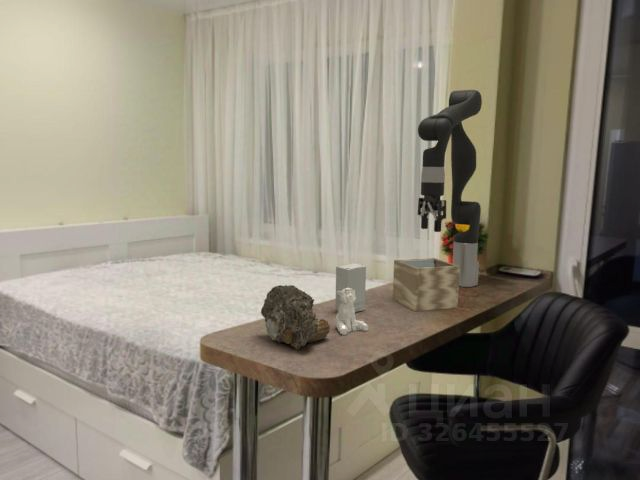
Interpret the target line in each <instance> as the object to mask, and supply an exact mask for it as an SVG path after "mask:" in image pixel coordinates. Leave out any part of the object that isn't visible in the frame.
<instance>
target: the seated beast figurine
mask: <svg viewBox="0 0 640 480" xmlns="http://www.w3.org/2000/svg"><path fill="white" fill-rule="evenodd" d="M354 291H355V290H354ZM354 291H353V289H351V288H346V289H342V291H337V294H338V295H339V296H340V299H341V301H342V302H343V303H342V304H341V305H340V306H339V309H338V310H339V311H337V314H336V317H335V318H334V319H335V321H334V322H335V326H336V328H337V331H338V332H339V334H340V335H341V334H342V336H346V335H347V334H348V333H351V332H357V331H356V330H358V331H362V330H363V331H364V332H368V331H369V324H367V323H365V321H364V320H357V318H356V312H355V308H354V304H353V303H354V301H355V300H356V296H355V292H354ZM351 329H352V330H351ZM347 332H348V333H347Z"/></svg>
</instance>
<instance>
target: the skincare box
mask: <svg viewBox="0 0 640 480" xmlns="http://www.w3.org/2000/svg"><path fill="white" fill-rule="evenodd" d="M366 275H367V266H366V265H364V264H359V263H357V262H356V263H355V262H354V263H349V264H344V265H337V266H335V307H334V308H335V311H337V312H339V310H338V309H339V306H340V305H341V304H342V303H343V302H342V301H341V299H340V296H339V295H338V294H337V291H342V289H346V288H351V289H353V291H354V290H355V291H354V292H355V296H356V300H355V301H354V303H353V304H354V308H355V313H358V312H361V311H365V310H366V286H367V285H366V280H367V279H366V277H367V276H366Z"/></svg>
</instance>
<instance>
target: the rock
mask: <svg viewBox="0 0 640 480" xmlns="http://www.w3.org/2000/svg"><path fill="white" fill-rule="evenodd" d="M263 302H264V303H263V305H262V307H261V310H260V313H261V316H262V317H263V318H264V322H265V325H264V326H265V328H266V333H267V334H268V336H269V337H270V338H271V340H272V341H277V342H278V343H280V344H281V343H285V344H289V345H290V346H291V347H293V348H294V349H295V350H297V349H298V350H297V351H299V350H300V349H301V347H303V346H305V345H307V343H314V341H315V342H318V340H319V341H320V340H322V339H325V338H326V337H328V334H330V331H331V325H330V324H329V321H327V320H325V319H324V318H322V319H320V320H319V318H316V317H317V314H316V312H313V311H314V308H313V306H314V302H315V299H313V296H311V295H310V294H308V293H306V291H303V290H301V289H300V288H298V287H296V286H295V285H287V284H286V285H281V284H280V285H276V286H273V287H272V288H271V290H269V291H268V292H267V293H266V298H265V299H264V301H263Z"/></svg>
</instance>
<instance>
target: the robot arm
mask: <svg viewBox="0 0 640 480" xmlns="http://www.w3.org/2000/svg"><path fill="white" fill-rule="evenodd" d="M479 91H480V90H479ZM479 91H478V90H477V89H476V90H475V89H464V90H460V89H459V90H453V91H452V92H450V94H449V98H448V106H447V107H445V108H443V109H442V110H441V111H439V112H438V113H436V114H433V115H430V116H428V117H425V118H424V119H422V120H421V122H420V123H419V124H418V127H417V134H418V137H419V138H420V139H421V140H422V141H425V142H436V143H435V144H436V145H434V146H432V147H429V148H425V149H424V150H423V152H422V165H421V166H422V168H421V173H420V174H421V176H420V195H421V196H422V197H418V199H417V200H418V202H417V203H418V205H417V216H420V219H421V220H420V229H422V230H427V229H428V228H429V226H428V225H429V215H430V214H431V215H433V218H434V225H433V231H434V233H441V232H442V222H443V220H446V219H447V200H446V199H441V197H442V196H444V194H445V184H446V183H445V181H446V180H445V179H446V171H445V165H446V164H445V160H446V157H445V156H446V151H447V148H448V145H449V142H450V141H451V142H450V143H451V144H450V148H451V149H450V150H451V153H450V155H451V156H450V159H451V161H450V163H451V183H452V184H451V201H450V202H451V203H450V205H451V206H450V217H451V222H452V223H453V224H455V225H464V226H469V227H468V229H467V230H465V231H462V232H458V233H455V234H454V236H453V247H452V249H453V250H452V264H454V265H457V266H460V272H459V287H463V288H464V287H465V288H471V287H473V288H474V287H475V286H478V284H479V270H480V269H479V268H480V267H479V266H480V262H479V261H478V250H479V249H478V248H479V247H478V245H479V233H480V221H481V212H482V208H481V204H480V202H477V201H468V200H467V201H466V200H465V201H464V200H462V196H463V192H464V190H465V188H466V186H467V184H468V183H469V181H470V180H471V179H472V177H473V175H474V174H475V172H476V170H477V150H476V147H475V145H474V143H473V142H472V140H471V138H469V136H468V135H467V133H466V131H465V130H464V127H463V121H465V120H467V119H469V118H471V117H473V116H476V115H478V114H479V113H480V111H481V109H482V104H483V101H482V94H481V93H480V92H479Z"/></svg>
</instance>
